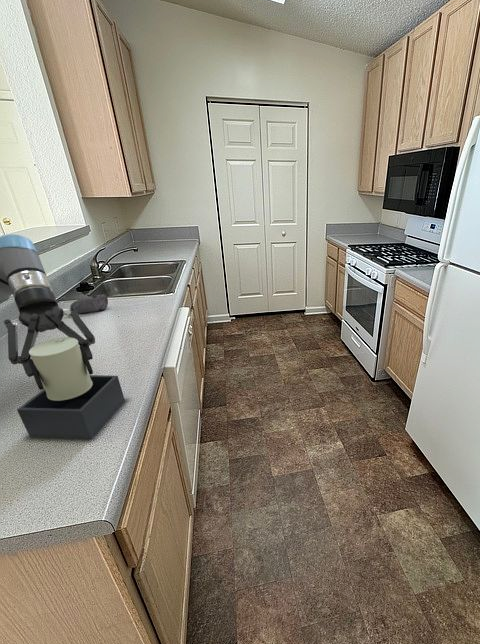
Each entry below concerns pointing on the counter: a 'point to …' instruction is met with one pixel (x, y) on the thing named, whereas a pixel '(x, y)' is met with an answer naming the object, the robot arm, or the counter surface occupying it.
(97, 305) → the perforated stone tool
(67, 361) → the can
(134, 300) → the counter surface
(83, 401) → the open box
